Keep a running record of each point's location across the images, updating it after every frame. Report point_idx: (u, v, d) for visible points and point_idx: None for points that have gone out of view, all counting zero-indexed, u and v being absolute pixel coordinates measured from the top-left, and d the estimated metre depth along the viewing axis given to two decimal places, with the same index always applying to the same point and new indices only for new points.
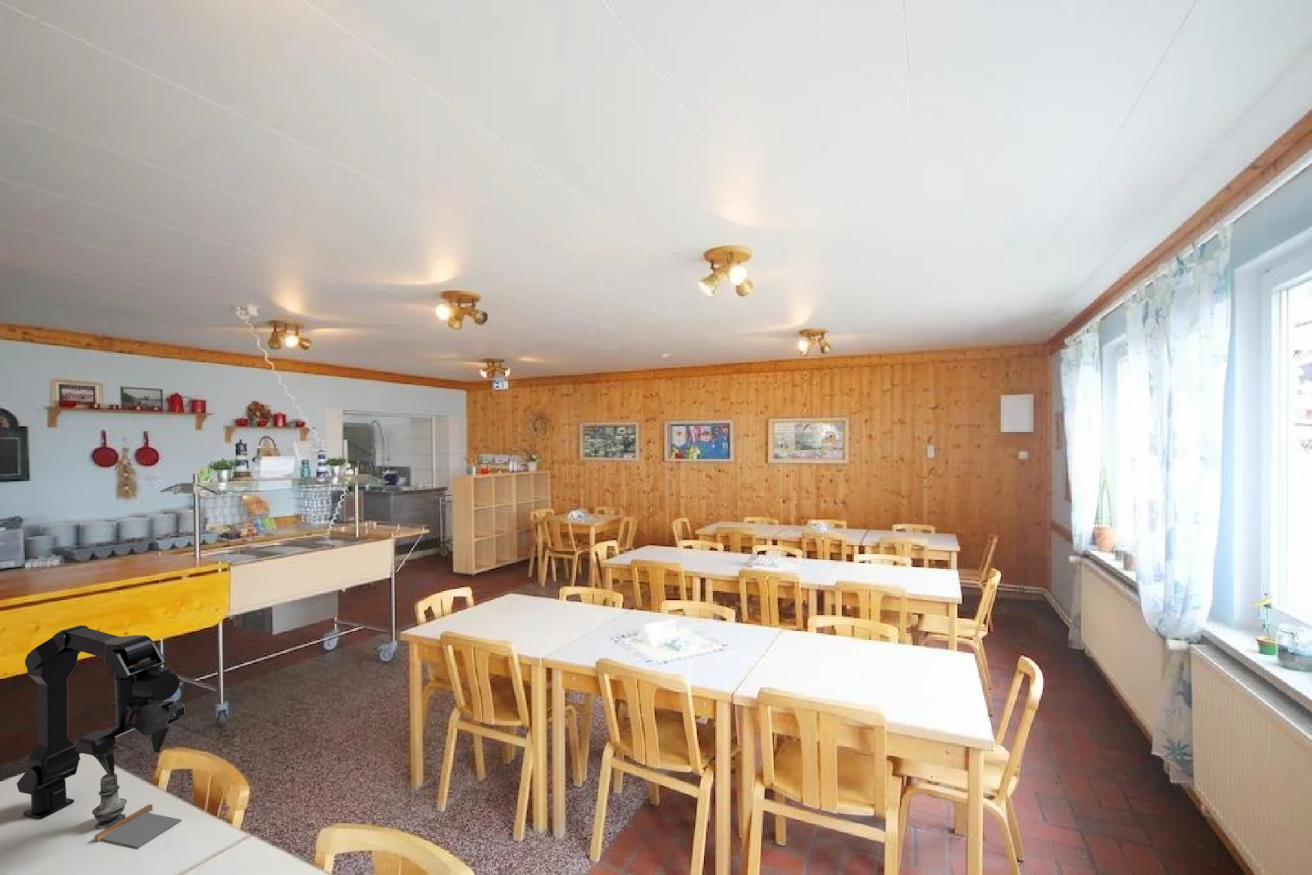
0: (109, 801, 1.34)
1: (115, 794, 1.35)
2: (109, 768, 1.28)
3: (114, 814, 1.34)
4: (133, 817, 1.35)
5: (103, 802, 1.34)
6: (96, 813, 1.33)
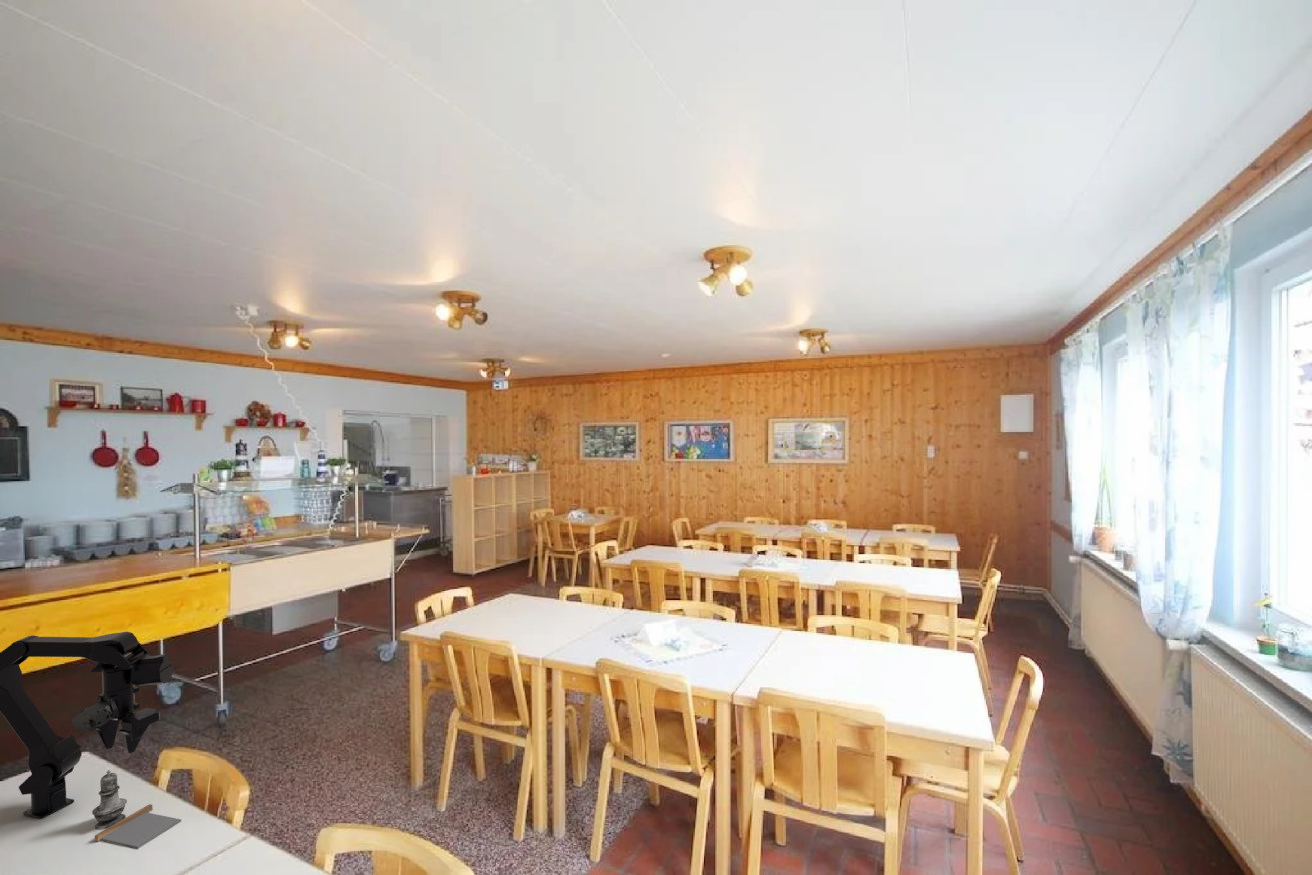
0: (109, 801, 1.34)
1: (115, 794, 1.35)
2: None
3: (114, 814, 1.34)
4: (133, 817, 1.35)
5: (103, 801, 1.34)
6: (96, 813, 1.33)
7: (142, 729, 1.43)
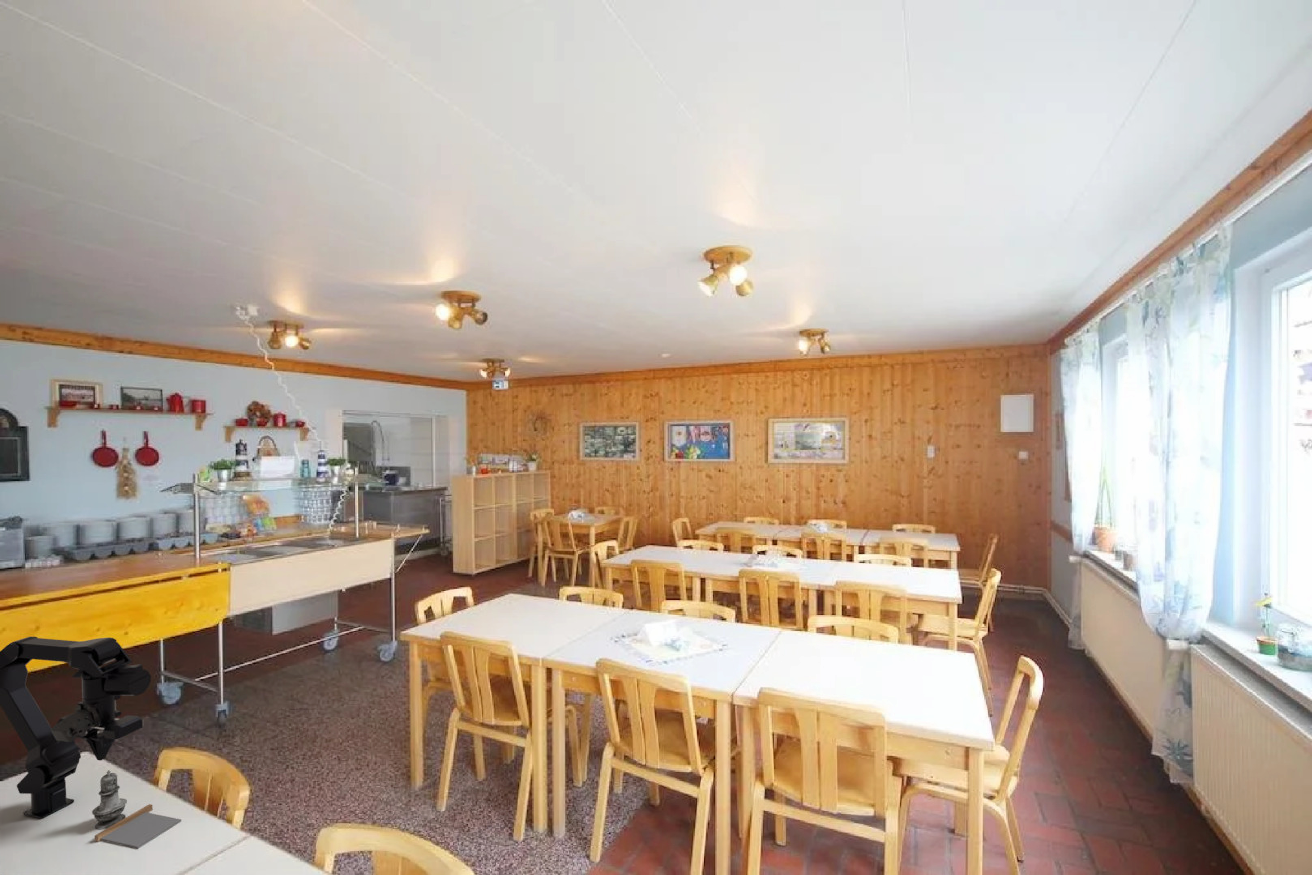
0: (109, 801, 1.34)
1: (115, 794, 1.35)
2: None
3: (114, 814, 1.34)
4: (133, 817, 1.35)
5: (103, 802, 1.34)
6: (96, 813, 1.33)
7: None
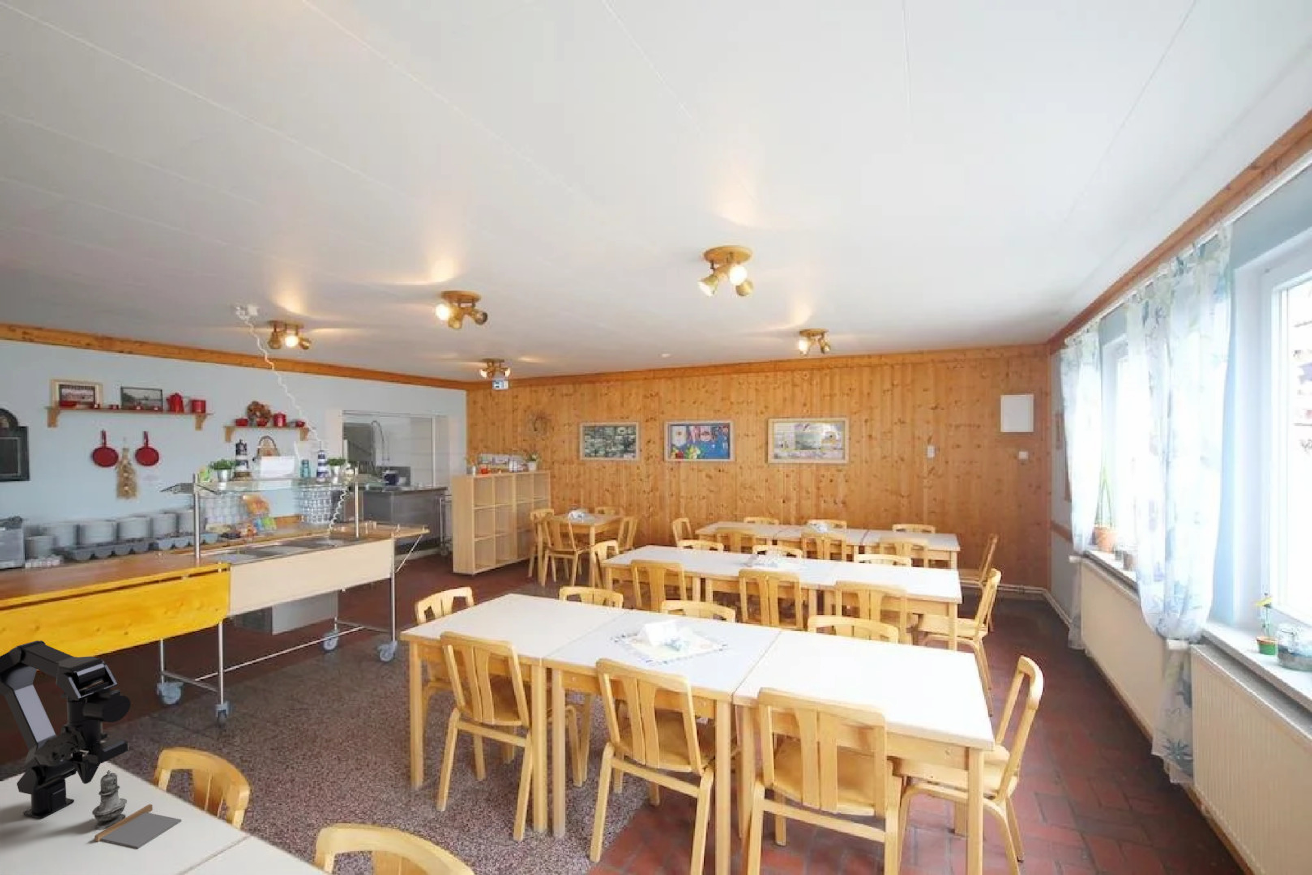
0: (109, 801, 1.34)
1: (115, 794, 1.35)
2: None
3: (114, 814, 1.34)
4: (133, 817, 1.35)
5: (103, 802, 1.34)
6: (96, 813, 1.33)
7: None
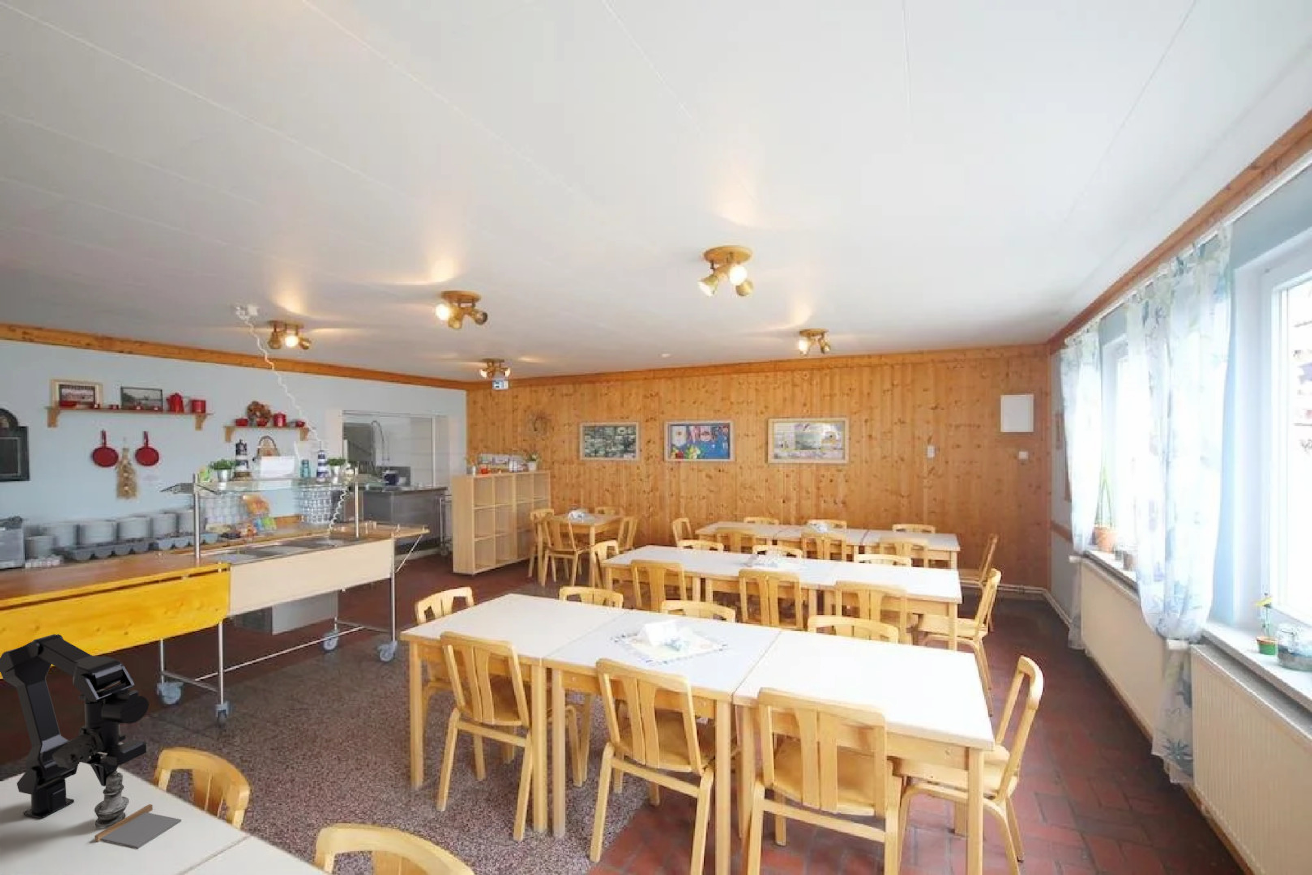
0: (112, 801, 1.34)
1: (119, 794, 1.35)
2: None
3: (115, 814, 1.34)
4: (133, 817, 1.35)
5: (107, 801, 1.33)
6: (98, 812, 1.32)
7: None
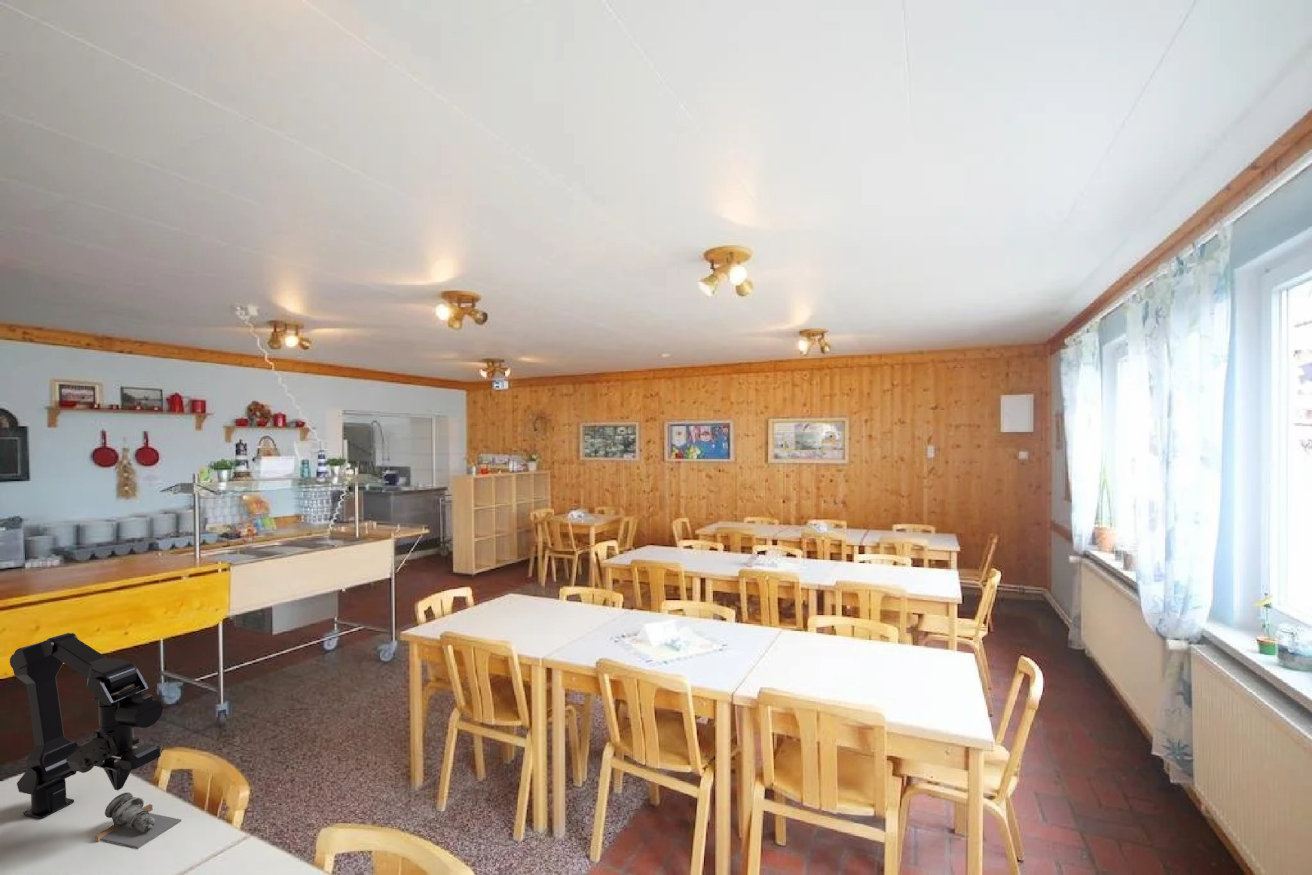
0: None
1: None
2: None
3: None
4: None
5: (126, 821, 1.31)
6: (115, 819, 1.31)
7: None
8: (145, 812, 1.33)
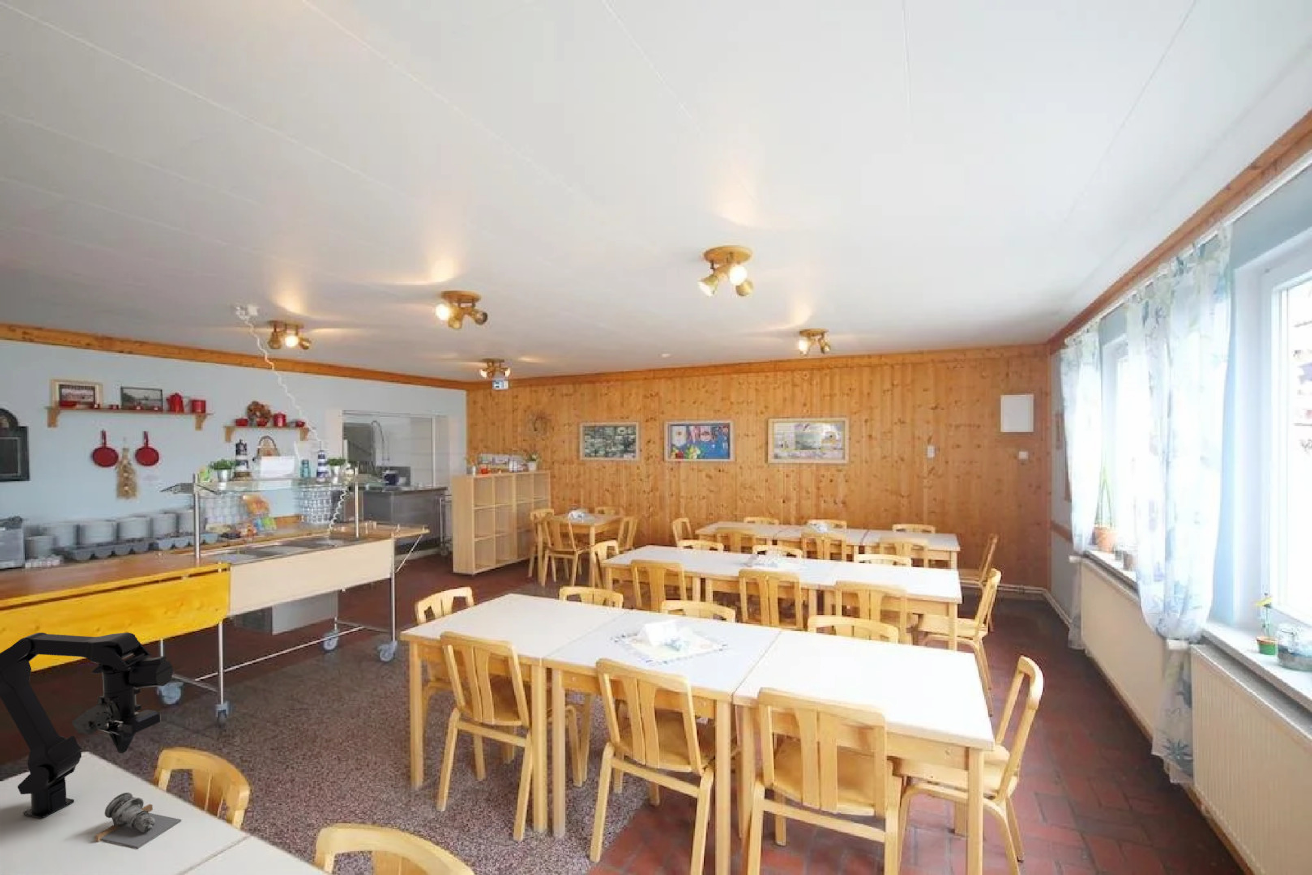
0: None
1: None
2: None
3: None
4: None
5: (126, 821, 1.31)
6: (114, 819, 1.31)
7: None
8: (145, 812, 1.33)
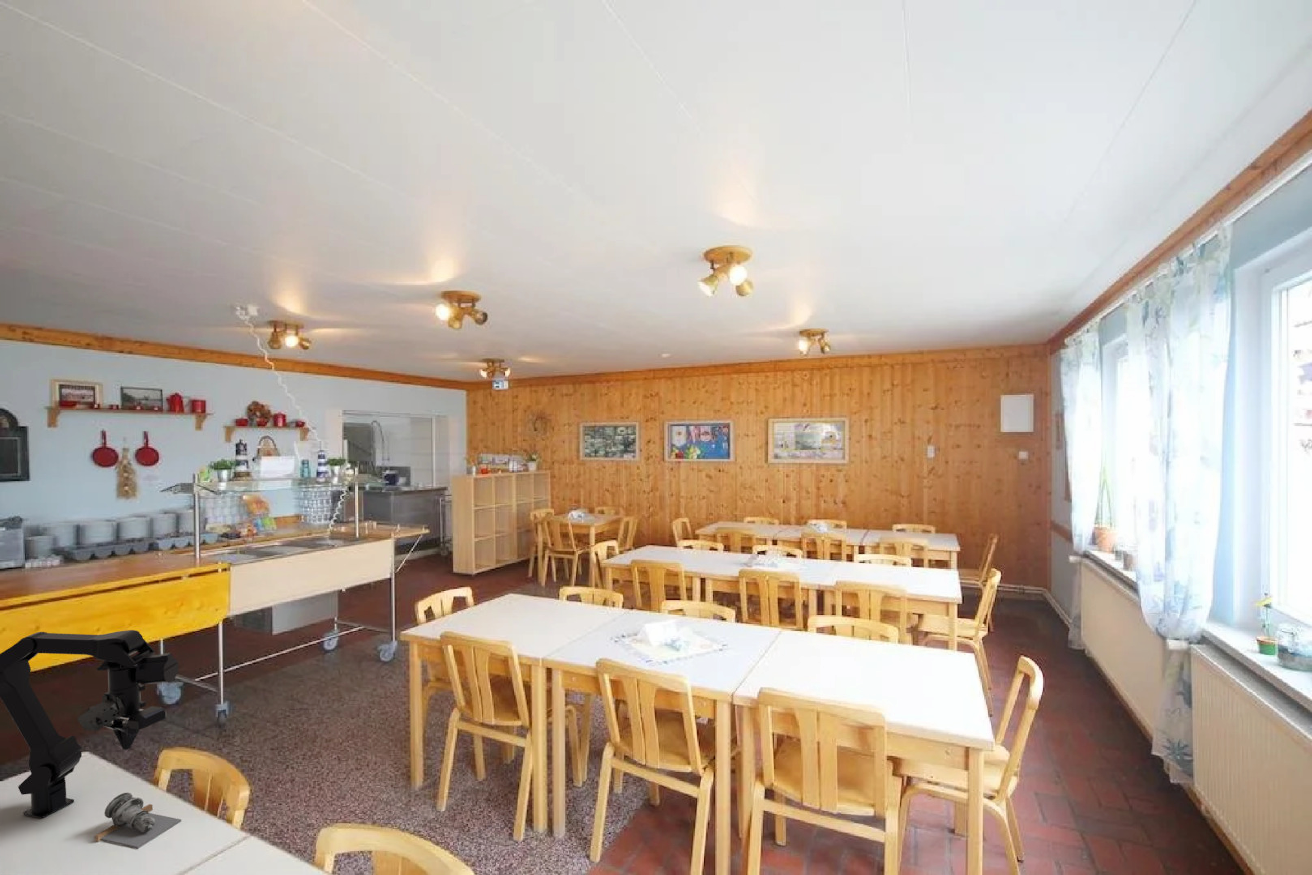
0: None
1: None
2: None
3: None
4: None
5: (126, 821, 1.31)
6: (114, 820, 1.31)
7: None
8: (145, 812, 1.33)
